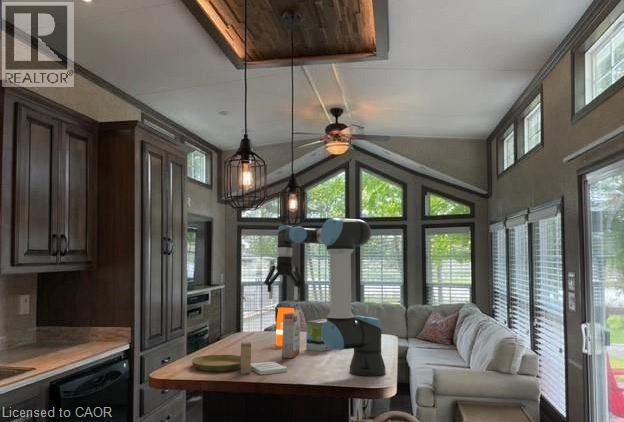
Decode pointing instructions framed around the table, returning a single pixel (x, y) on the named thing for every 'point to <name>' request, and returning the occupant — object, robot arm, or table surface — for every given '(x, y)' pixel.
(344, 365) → the table surface
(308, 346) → the tea box
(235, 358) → the plant saucer
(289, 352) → the cracker box
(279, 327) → the orange juice
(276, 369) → the board
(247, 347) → the block
